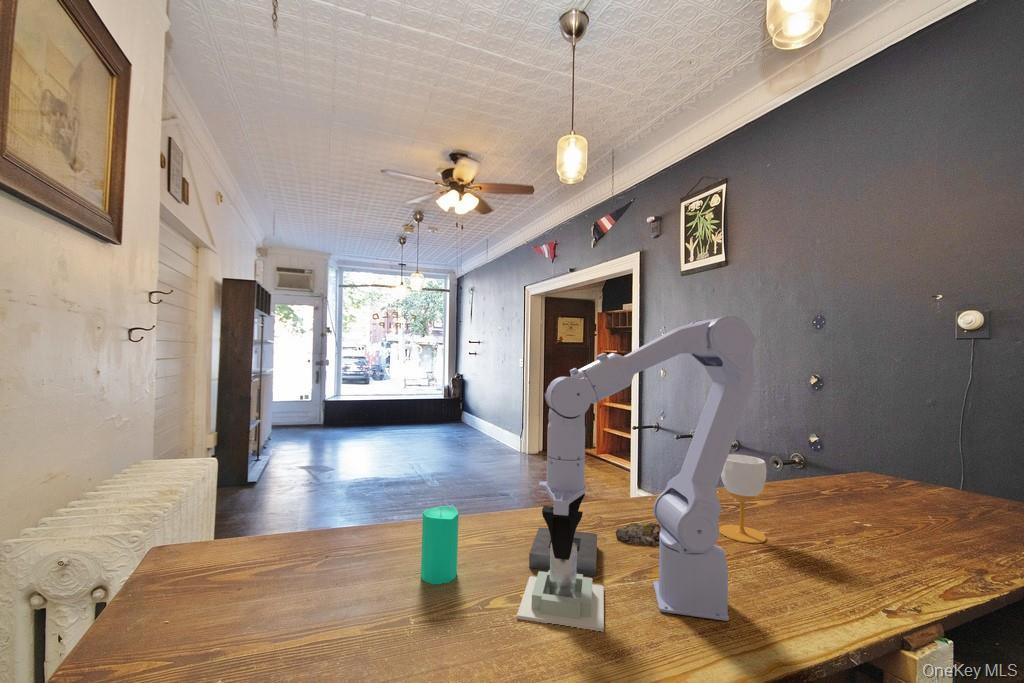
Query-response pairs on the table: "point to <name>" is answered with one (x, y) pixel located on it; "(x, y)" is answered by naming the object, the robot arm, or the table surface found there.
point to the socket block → (585, 551)
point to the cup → (743, 492)
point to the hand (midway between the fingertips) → (564, 546)
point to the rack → (563, 603)
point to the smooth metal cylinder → (563, 574)
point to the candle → (439, 544)
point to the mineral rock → (640, 533)
